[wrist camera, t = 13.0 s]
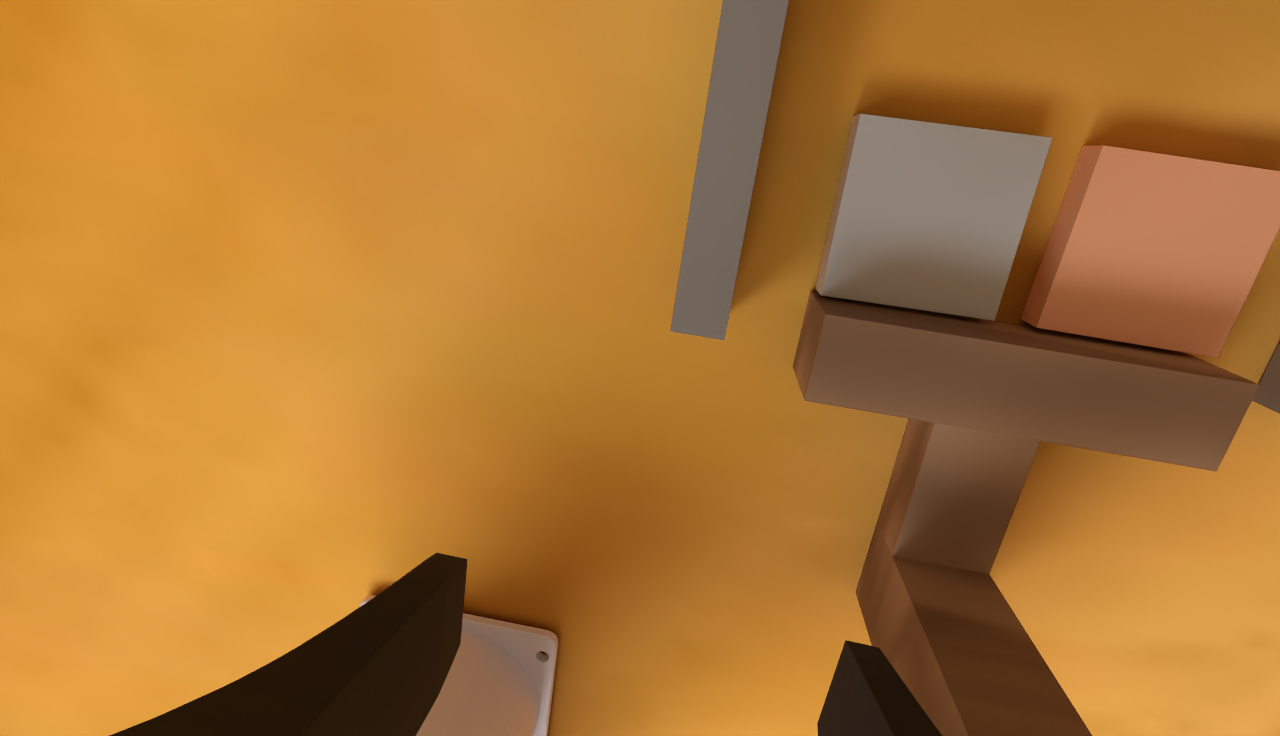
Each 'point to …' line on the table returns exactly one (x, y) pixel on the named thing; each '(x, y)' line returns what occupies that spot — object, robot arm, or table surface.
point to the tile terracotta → (1155, 249)
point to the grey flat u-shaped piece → (754, 173)
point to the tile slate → (929, 214)
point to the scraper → (990, 479)
